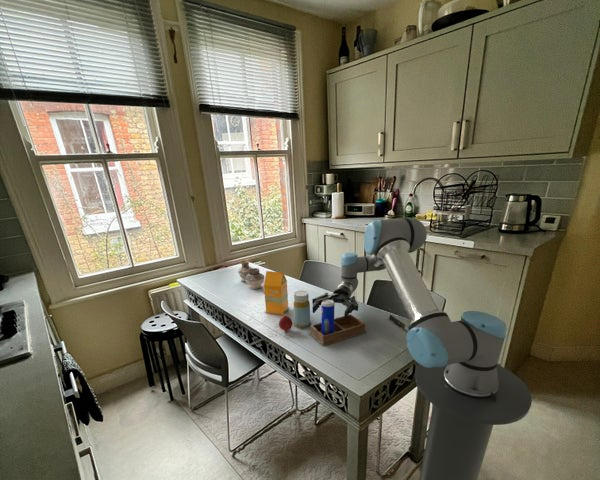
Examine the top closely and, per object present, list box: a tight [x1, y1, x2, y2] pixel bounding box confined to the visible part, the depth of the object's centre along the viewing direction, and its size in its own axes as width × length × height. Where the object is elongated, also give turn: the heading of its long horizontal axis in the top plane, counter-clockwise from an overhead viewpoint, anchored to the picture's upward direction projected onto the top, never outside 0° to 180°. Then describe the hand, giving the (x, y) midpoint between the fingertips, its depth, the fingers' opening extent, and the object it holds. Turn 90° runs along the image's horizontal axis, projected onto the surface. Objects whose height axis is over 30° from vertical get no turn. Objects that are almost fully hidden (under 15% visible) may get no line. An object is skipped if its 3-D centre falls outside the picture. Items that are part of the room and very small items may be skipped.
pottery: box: [237, 259, 265, 290], centre depth 188 cm, size 11×25×12 cm, turn 30°
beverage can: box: [320, 299, 335, 335], centre depth 128 cm, size 5×5×15 cm
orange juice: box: [263, 270, 289, 316], centre depth 151 cm, size 8×9×20 cm
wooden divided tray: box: [310, 313, 366, 347], centre depth 132 cm, size 11×20×4 cm, turn 117°
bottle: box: [293, 290, 311, 328], centre depth 138 cm, size 7×7×15 cm
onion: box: [278, 313, 294, 332], centre depth 135 cm, size 6×6×8 cm
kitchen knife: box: [389, 314, 409, 333], centre depth 135 cm, size 18×1×2 cm, turn 21°
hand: (329, 312), depth 128 cm, fingers open, 13 cm apart
